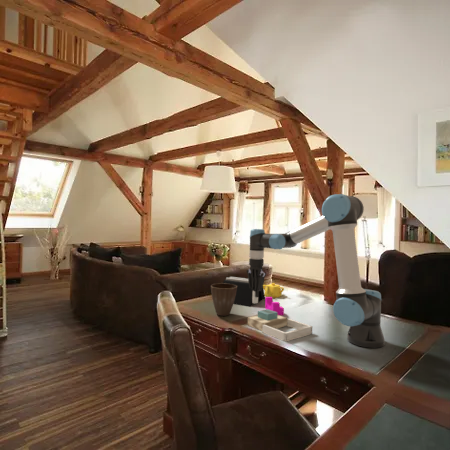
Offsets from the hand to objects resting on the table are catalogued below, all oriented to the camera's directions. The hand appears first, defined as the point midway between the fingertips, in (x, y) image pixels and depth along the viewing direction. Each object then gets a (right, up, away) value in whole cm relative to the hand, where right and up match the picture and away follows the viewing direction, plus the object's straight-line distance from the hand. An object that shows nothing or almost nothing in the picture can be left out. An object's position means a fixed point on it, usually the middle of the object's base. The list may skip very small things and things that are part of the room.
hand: (255, 302), depth 172 cm
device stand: (-4, -10, +43) cm, 44 cm away
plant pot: (-17, -9, +12) cm, 23 cm away
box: (+13, -10, -18) cm, 24 cm away
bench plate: (+5, -10, -7) cm, 13 cm away
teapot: (+17, -10, +54) cm, 57 cm away
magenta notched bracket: (+13, -10, +17) cm, 24 cm away
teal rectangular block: (+6, -6, -7) cm, 11 cm away
